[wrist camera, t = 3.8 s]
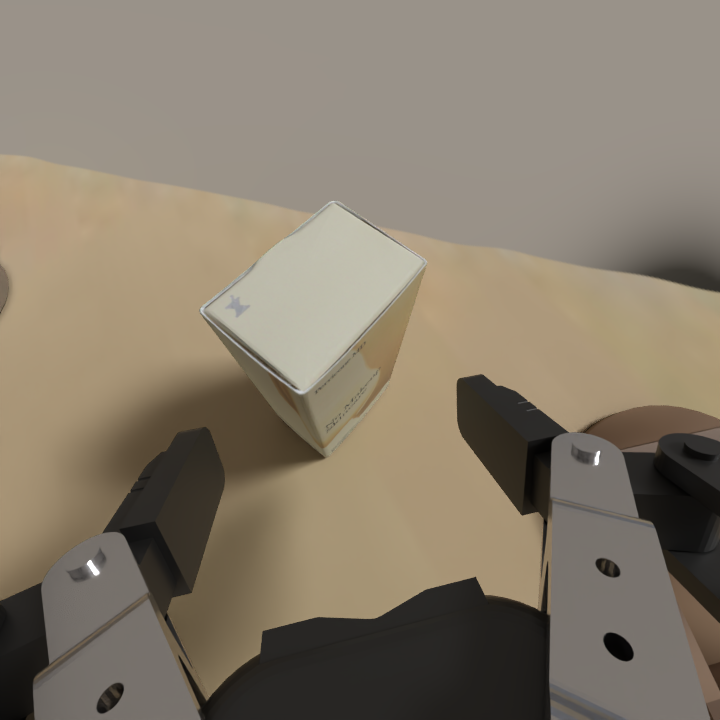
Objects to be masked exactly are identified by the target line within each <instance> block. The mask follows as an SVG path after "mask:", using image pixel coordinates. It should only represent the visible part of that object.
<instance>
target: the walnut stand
mask: <svg viewBox="0 0 720 720" xmlns="http://www.w3.org/2000/svg"><path fill="white" fill-rule="evenodd" d="M585 433H586V434H591V435H594V436H597V437H600V438H603V439H605V440H607V441H609V442H610V443H612V444H614V445H615V446H616V447H617V448H618V449H619V450H620V451H621V452H654V453H656V449H657V446H658V442H659V439H660V438H661V437H662V436H664V435H667V434H672V433H687V434H695V435H700V436H704V437H708V438H711V439H714V440H717V441H719V442H720V420H719V419H717V418H715V417H712V416H710V415H707V414H704V413H701V412H698V411H694V410H690V409H686V408H681V407H673V406H644V407H637V408H633V409H629V410H626V411H622V412H619V413H616V414H613V415H611V416H609V417H607V418H604V419H602V420H600V421H599V422H597V423H596V424H594V425H593V426H592V427H590V428H589V429H588V430H587V431H586V432H585ZM668 574H669V577H670V581H671V584H672V588H673V591H674V595H675V598H676V602H677V605H678V609H679V612H680V616H681V619H682V623H683V626H684V629H685V633H686V636H687V640H688V643H689V647H690V650H691V654H692V657H693V661H694V664H695V668H696V671H697V675H698V678H699V682H700V685H701V689H702V692H703V696H704V699H705V702H706V706H707V709H708V713H709V716H710V720H720V623H719V622H718V621H717V620H716V619H715V618H714V617H713V616H712V615H711V614H710V613H709V612H708V611H707V610H706V609H705V608H704V607H703V606H702V605H701V604H700V603H699V602H698V601H697V600H696V599H695V598H694V597H693V596H692V595H691V594H690V593H689V592H688V591H687V590H686V589H685V588H684V587H683V586H682V585H681V584H680V583H679V582H678V581H677V580H676V579H675V578H674V577H673V576H672V575H671V574H670V573H669V572H668Z"/></svg>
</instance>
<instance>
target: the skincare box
mask: <svg viewBox="0 0 720 720" xmlns="http://www.w3.org/2000/svg"><path fill="white" fill-rule="evenodd" d="M426 265H427V261H426V259H424V258H423V257H421V256H420V255H418V254H417V253H415V252H414V251H412V250H411V249H409V248H408V247H406V246H405V245H404V244H402V243H401V242H399V241H398V240H396V239H395V238H393V237H392V236H390V235H389V234H388V233H386V232H385V231H383V230H381V229H380V228H378V227H377V226H375V225H374V224H372V223H371V222H369V221H368V220H366V219H365V218H363V217H362V216H360V215H359V214H357V213H356V212H354V211H352V210H351V209H349V208H348V207H347V206H345V205H343V204H342V203H340V202H339V201H331V202H329V203H328V204H326V205H325V206H324V207H323V208H322V209H321V210H319V211H318V212H317V213H316V214H314V215H313V216H312V217H311V218H309V219H308V220H307V221H306V222H305V223H303V224H302V225H301V226H299V227H298V228H297V229H296V230H295V231H294V232H292V233H291V234H290V235H288V236H287V237H286V238H284V239H283V240H281V241H280V242H278V243H277V244H276V245H274V246H273V247H272V248H271V249H269V250H268V251H267V252H266V253H265V254H264V255H263V256H262V257H261V258H260V259H259V260H258V261H257V262H255V263H254V264H253V265H252V266H251V267H250V268H249V269H247V270H246V271H245V272H244V273H242V274H241V275H240V276H239V277H238V278H236V279H235V280H234V281H233V282H232V283H230V284H229V285H228V286H227V287H226V288H224V289H223V290H222V291H221V292H219V293H218V294H217V295H216V296H214V297H213V298H212V299H211V300H210V301H208V302H207V303H206V304H204V305H203V306H202V307H201V308H200V309H199V312H200V314H201V315H202V316H203V318H204V319H205V320H206V322H207V323H208V324H209V326H210V327H211V328H212V329H213V331H214V332H215V333H216V335H217V336H218V337H219V339H220V340H221V341H222V342H223V344H224V345H225V346H226V348H227V349H228V350H229V352H230V353H231V354H232V356H233V357H234V358H235V360H236V361H237V362H238V364H239V365H240V366H241V368H242V369H243V370H244V372H245V373H246V374H247V375H248V377H249V378H250V380H251V381H252V382H253V383H254V385H255V386H256V387H257V389H258V390H259V391H260V393H261V394H262V395H263V397H264V398H265V399H266V400H267V402H268V403H269V404H270V406H271V407H272V408H273V410H274V411H275V412H276V414H277V415H278V416H279V417H280V418H281V419H282V420H283V421H284V422H285V423H286V424H287V425H288V426H289V427H290V428H292V429H293V430H294V431H295V432H296V433H297V434H298V435H299V436H300V437H301V438H303V439H304V440H305V441H306V442H307V443H308V444H309V445H311V446H312V447H313V448H314V449H315V450H317V451H318V452H319V453H320V454H322V455H323V456H324V457H329V456H330V455H331V454H332V453H333V452H334V451H335V449H336V448H337V447H338V446H339V445H340V444H341V443H342V442H343V441H344V440H345V438H346V437H347V436H348V435H349V434H350V433H351V432H352V430H353V429H354V428H355V427H356V426H357V424H358V423H359V422H360V421H361V420H362V419H363V417H364V416H365V415H366V414H367V412H368V411H369V410H370V408H371V407H372V406H373V405H374V403H375V402H376V401H377V400H378V398H379V397H380V396H381V394H382V393H383V392H384V391H385V389H386V388H387V387H388V384H389V381H390V378H391V374H392V371H393V368H394V365H395V362H396V359H397V356H398V353H399V349H400V346H401V343H402V340H403V337H404V334H405V331H406V327H407V324H408V321H409V318H410V315H411V312H412V309H413V306H414V303H415V299H416V296H417V293H418V290H419V287H420V284H421V280H422V278H423V275H424V272H425V268H426Z"/></svg>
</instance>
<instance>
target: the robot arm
mask: <svg viewBox="0 0 720 720" xmlns="http://www.w3.org/2000/svg"><path fill="white" fill-rule="evenodd" d="M8 289H9V286H8V277H7V275H6V272H5V270H4V268H3V267H2V266H1V265H0V312H1V310H2V308H3V306H4V303H5V301H6V299H7V294H8ZM457 421H458V426H459V430H460V433H461V435H462V437H463V438H464V440H465V441H466V442H467V444H468V445H469V446H470V448H471V449H472V450H473V451H474V453H475V454H476V455H477V457H478V458H479V459H480V461H481V462H482V463H483V465H484V466H485V467H486V469H487V470H488V471H489V473H490V474H491V475H492V477H493V478H494V479H495V481H496V482H497V483H498V485H499V486H500V487H501V489H502V490H503V491H504V492H505V494H506V495H507V496H508V498H509V499H510V500H511V502H512V503H513V504H514V506H515V507H516V508H517V510H518V511H519V512H520V514H521V515H526V514H530V513H535V512H539V513H540V514H541V516H542V517H543V524H542V541H541V562H540V583H539V599H538V609H536V608H534V607H531V606H529V605H526V604H524V603H521V602H518V601H515V600H511V599H508V598H504V597H498V596H491V595H484V593H483V591H482V589H481V587H480V585H479V583H478V581H477V579H476V577H474V578H470V579H466V580H462V581H458V582H454V583H450V584H446V585H443V586H439V587H435V588H431V589H427V590H425V591H423V592H421V593H419V594H418V595H416V596H414V597H413V598H411V599H409V600H408V601H406V602H404V603H402V604H401V605H399V606H397V607H396V608H394V609H392V610H391V611H389V612H387V613H385V614H384V615H382V616H380V617H378V618H375V619H351V618H324V617H317V618H313V619H309V620H305V621H301V622H297V623H293V624H289V625H285V626H281V627H277V628H273V629H269V630H265V631H263V633H262V643H261V653H260V654H259V655H257V656H255V657H254V658H252V659H251V660H249V661H248V662H247V663H245V664H244V665H242V666H241V667H240V668H238V669H237V670H236V671H235V672H234V673H233V674H232V675H231V676H229V677H228V678H227V679H226V680H225V681H224V682H223V683H222V684H221V685H220V686H219V687H218V689H217V690H216V691H215V692H214V693H213V694H212V695H211V696H210V698H209V696H208V694H207V692H206V690H205V688H204V687H203V685H202V683H201V681H200V679H199V676H198V674H197V672H196V670H195V668H194V666H193V664H192V662H191V660H190V657H189V655H188V653H187V651H186V649H185V647H184V645H183V643H182V640H181V638H180V636H179V634H178V632H177V630H176V628H175V626H174V624H173V621H172V619H171V617H170V616H169V614H168V612H167V610H168V607H169V604H170V602H171V599H172V597H176V596H181V595H185V594H189V593H192V590H193V587H194V583H195V580H196V577H197V574H198V570H199V567H200V564H201V560H202V557H203V554H204V551H205V547H206V544H207V541H208V538H209V534H210V531H211V528H212V525H213V521H214V518H215V515H216V511H217V508H218V505H219V502H220V498H221V495H222V492H223V489H224V482H225V477H224V470H223V466H222V463H221V461H220V458H219V455H218V452H217V450H216V447H215V444H214V442H213V439H212V436H211V433H210V431H209V430H208V429H207V428H206V427H203V428H198V429H192V430H187V431H182V432H179V433H178V434H177V435H176V437H175V438H174V440H173V441H172V443H171V445H170V446H169V448H168V450H167V451H165V452H161V453H160V454H159V455H158V456H157V457H156V458H155V459H153V460H152V461H151V462H150V463H149V464H148V465H147V466H146V467H145V469H144V470H143V472H142V473H141V475H140V477H139V478H138V481H137V482H136V483H135V484H134V486H133V487H132V489H131V490H130V491H131V493H128V495H127V496H126V498H125V499H124V501H123V502H122V504H121V505H120V507H119V508H118V510H117V512H116V513H115V515H114V516H113V518H112V519H111V521H110V522H109V524H108V525H107V527H106V528H105V530H104V531H103V533H102V534H100V535H97V536H94V537H92V538H89V539H87V540H85V541H84V542H82V543H80V544H78V545H77V546H75V547H74V548H72V549H71V550H70V551H68V552H67V553H66V554H65V555H63V556H62V557H61V558H60V559H59V560H58V561H57V562H56V563H55V564H54V565H53V566H52V567H51V569H50V570H49V571H48V573H47V574H46V576H45V578H44V580H43V582H42V583H40V584H38V585H35V586H33V587H31V588H29V589H26V590H24V591H22V592H20V593H18V594H15V595H13V596H11V597H9V598H6V599H4V600H2V601H0V720H710V716H709V713H708V709H707V706H706V702H705V699H704V696H703V692H702V689H701V685H700V682H699V678H698V675H697V671H696V668H695V664H694V661H693V657H692V654H691V650H690V647H689V643H688V640H687V636H686V633H685V629H684V626H683V623H682V619H681V616H680V612H679V609H678V605H677V602H676V598H675V595H674V591H673V588H672V584H671V581H670V577H669V574H668V572H669V573H670V574H671V575H672V576H673V577H674V578H675V579H676V580H677V581H678V582H679V583H680V584H681V585H682V586H683V587H684V588H685V589H686V590H687V591H688V592H689V593H690V594H691V595H692V596H693V597H694V598H695V599H696V600H697V601H698V602H699V603H700V604H701V605H702V606H703V607H704V608H705V609H706V610H707V611H708V612H709V613H710V614H711V615H712V616H713V617H714V618H715V619H716V620H717V621H718V622H719V623H720V442H719V441H717V440H714V439H711V438H708V437H704V436H700V435H695V434H687V433H672V434H667V435H664V436H662V437H661V438H660V439H659V442H658V446H657V449H656V453H654V452H621V451H620V450H619V449H618V448H617V447H616V446H615V445H614V444H612V443H610V442H609V441H607V440H605V439H603V438H600V437H597V436H594V435H591V434H586V433H576V432H572V433H569V432H568V431H566V430H565V429H564V428H562V427H561V426H560V425H559V424H557V423H556V422H555V421H553V420H552V419H551V418H550V417H548V416H547V415H546V414H544V413H543V412H542V411H540V410H539V409H537V408H536V407H535V406H534V405H533V404H531V403H530V402H527V400H526V399H525V398H524V397H522V396H521V395H520V394H519V393H517V392H516V391H513V390H511V389H508V388H506V387H503V386H496V385H495V384H494V383H492V382H491V381H490V380H489V379H488V378H486V377H485V376H484V375H482V374H480V375H474V376H469V377H464V378H459V379H458V381H457Z"/></svg>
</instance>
